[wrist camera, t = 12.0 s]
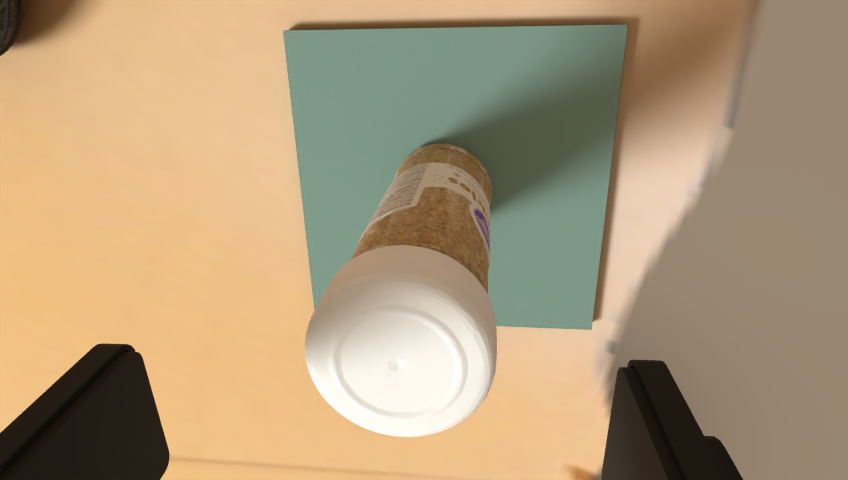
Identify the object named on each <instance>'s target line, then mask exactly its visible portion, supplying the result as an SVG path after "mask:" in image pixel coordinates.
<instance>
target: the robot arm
mask: <svg viewBox="0 0 848 480" xmlns="http://www.w3.org/2000/svg"><path fill="white" fill-rule="evenodd" d="M168 463H169V450H168V446H167V443H166V439H165V436H164V432H163V429H162V425H161V421H160V418H159V414H158V411H157V407H156V404H155V400H154V397H153V393H152V390H151V386H150V383H149V379H148V376H147V372H146V369H145V365H144V362H143V358H142V356H141V354H140V353H138V352H135V350H134V348H133V347H132V346H131V345H128V344H98V345H96V346H95V347H93V348H92V349H91V350H90V351H89V352H88V353H87V354H86V355H84V356H83V357H82V358H81V359H80V360H79V361H78V362H77V363H76V364H75V365H74V366H73V367H71V368H70V369H69V370H68V371H67V372H66V373H65V374H64V375H63V376H62V377H61V378H60V379H58V380H57V381H56V382H55V383H54V384H53V385H52V386H51V387H50V388H49V389H48V390H47V391H45V392H44V393H43V394H42V395H41V396H40V397H39V398H38V399H37V400H36V401H35V402H34V403H32V404H31V405H30V406H29V407H28V408H27V409H26V410H25V411H24V412H23V413H22V414H21V415H19V416H18V417H17V418H16V419H15V420H14V421H13V422H12V423H11V424H10V425H9V426H8V427H6V428H5V429H4V430H3V431H2V432H1V433H0V480H160V479H161V477H162V476H163V474H164V473H165V471H166V469H167V466H168ZM602 480H743V479H742V477H741V476H740V473H739V472H738V470H737V468H736V466H735V465H734V463H733V461H732V459H731V458H730V456H729V454H728V452H727V450H726V449H725V447H724V446H723V444H722V443H721V441H720V440H719V439H717V438H716V437H713V436H704V435H703V433H702V431H701V429H700V428H699V426H698V424H697V422H696V420H695V418H694V416H693V414H692V412H691V411H690V409H689V407H688V405H687V403H686V401H685V399H684V398H683V396H682V394H681V392H680V390H679V388H678V386H677V384H676V382H675V381H674V379H673V377H672V375H671V374H670V371H669V369H668V368H667V366H666V364H665V363H664V362H663V361H656V360H631V361H629V363H628V367H620V368H619V370H618V372H617V378H616V385H615V391H614V397H613V404H612V410H611V417H610V423H609V429H608V436H607V442H606V449H605V455H604V462H603V468H602Z"/></svg>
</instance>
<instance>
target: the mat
mask: <svg viewBox="0 0 848 480" xmlns="http://www.w3.org/2000/svg"><path fill="white" fill-rule="evenodd" d="M627 28H628V25H627V24H612V25H555V26H498V27H441V28H384V29H327V30H285V31H283V34H284V43H285V52H286V61H287V70H288V78H289V87H290V96H291V105H292V114H293V123H294V132H295V140H296V149H297V158H298V167H299V176H300V185H301V194H302V203H303V211H304V220H305V229H306V238H307V247H308V256H309V265H310V273H311V282H312V291H313V300H314V309H316V307H317V305H318V303H319V301H320V299H321V298H322V296H323V294H324V292H325V290H326V289H327V287H328V285H329V283H330V282H331V280H332V279H333V277H334V276H335V274H336V273H337V272H338V271H339V270H340V269H341V268H342V267H343V266H344V265H345V264H347V263H348V262H349V261H350V260H351V258H352V256H353V254H354V252H355V250H356V247H357V244H358V242H359V240H360V238H361V236H362V234H363V232H364V231H365V229H366V227H367V225H368V224H369V222H370V220H371V218H372V217H373V215H374V213H375V211H376V209H377V207H378V205H379V204H380V202H381V200H382V198H383V197H384V195H385V193H386V191H387V189H388V188H389V186H390V185H391V183H392V182H393V181H394V177H395V174H396V171H397V169H398V167H399V165H400V164H401V163H402V161H403V160H404V159H405V158H406V157H407V156H408V155H410V154H411V153H413V152H414V151H415V150H416V149H418V148H420V147H424V146H427V145H431V144H452V145H455V146H459V147H462V148H464V149H465V150H467V151H469V152H470V153H471V154H473V155H474V156H475V157H477V158H478V159H479V161H480V162H481V163H482V164H483V166H484V167H485V169H486V170H487V172H488V175H489V178H490V181H491V190H492V197H491V203H490V207H489V208H490V265H489V269H488V297H489V299H490V301H491V303H492V306H493V310H494V313H495V319H496V326H510V327H535V328H560V329H585V330H592V321H593V313H594V305H595V296H596V288H597V279H598V271H599V263H600V254H601V246H602V238H603V229H604V221H605V212H606V204H607V196H608V187H609V179H610V171H611V162H612V154H613V146H614V137H615V129H616V120H617V112H618V104H619V95H620V87H621V79H622V70H623V62H624V54H625V45H626V37H627Z"/></svg>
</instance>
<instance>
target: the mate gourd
mask: <svg viewBox="0 0 848 480" xmlns="http://www.w3.org/2000/svg"><path fill="white" fill-rule="evenodd" d="M23 15H24V0H0V56H1V55H3V54H4V53H5V52H6V51H7V50H8V49H9V48H10V47H11V46H12V44H13V43H14V41H15V40H16V38H17V35H18V33H19V31H20V27H21V24H22V20H23Z"/></svg>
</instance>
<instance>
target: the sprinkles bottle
mask: <svg viewBox="0 0 848 480" xmlns="http://www.w3.org/2000/svg"><path fill="white" fill-rule="evenodd" d="M491 197H492V190H491V181H490V178H489V175H488V172H487V170H486V169H485V167H484V166H483V164H482V163H481V162H480V161H479V159H478V158H477V157H475V156H474V155H473V154H471V153H470V152H469V151H467V150H465V149H464V148H462V147H459V146H455V145H452V144H431V145H427V146H424V147H420V148H418V149H416V150H415V151H414V152H413V153H411V154H410V155H408V156H407V157H406V158H405V159H404V160H403V161H402V163H401V164H400V165H399V167H398V169H397V171H396V174H395V177H394V181H393V182H392V183H391V185H390V186H389V188H388V189H387V191H386V193H385V195H384V197H383V198H382V200H381V202H380V204H379V205H378V207H377V209H376V211H375V213H374V215H373V217H372V218H371V220H370V222H369V224H368V225H367V227H366V229H365V231H364V232H363V234H362V236H361V238H360V240H359V242H358V244H357V247H356V250H355V252H354V254H353V256H352V258H351V260H350V261H349V262H348V263H347V264H345V265H344V266H343V267H342V268H341V269H340V270H339V271H338V272H337V273H336V274H335V276H334V277H333V279H332V280H331V282H330V283H329V285H328V287H327V289H326V290H325V292H324V294H323V296H322V298H321V299H320V301H319V303H318V305H317V307H316V309H315V311H314V313H313V315H312V317H311V320H310V322H309V325H308V329H307V333H306V340H305V356H306V362H307V366H308V369H309V372H310V375H311V378H312V380H313V382H314V384H315V386H316V387H317V389H318V390H319V392H320V393H321V395H322V396H323V397H324V398H325V400H326V401H327V402H328V403H329V404H330V405H331V406H332V407H333V408H334V409H335V410H336V411H338V412H339V413H340V414H341V415H343V416H344V417H345V418H347V419H348V420H350V421H352V422H354V423H356V424H357V425H360V426H362V427H364V428H366V429H369V430H372V431H375V432H378V433H381V434H386V435H392V436H402V437H416V436H425V435H430V434H435V433H438V432H441V431H444V430H446V429H449V428H451V427H453V426H455V425H457V424H459V423H460V422H462V421H463V420H465V419H466V418H467V417H468V416H470V415H471V414H472V413H473V412H474V411H475V410H476V409H477V408H478V407H479V406H480V404H481V403H482V402H483V400H484V399H485V398H486V396H487V394H488V392H489V389H490V387H491V384H492V382H493V378H494V375H495V369H496V356H497V333H496V319H495V313H494V310H493V306H492V303H491V301H490V299H489V297H488V269H489V265H490V208H489V207H490V203H491Z"/></svg>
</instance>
